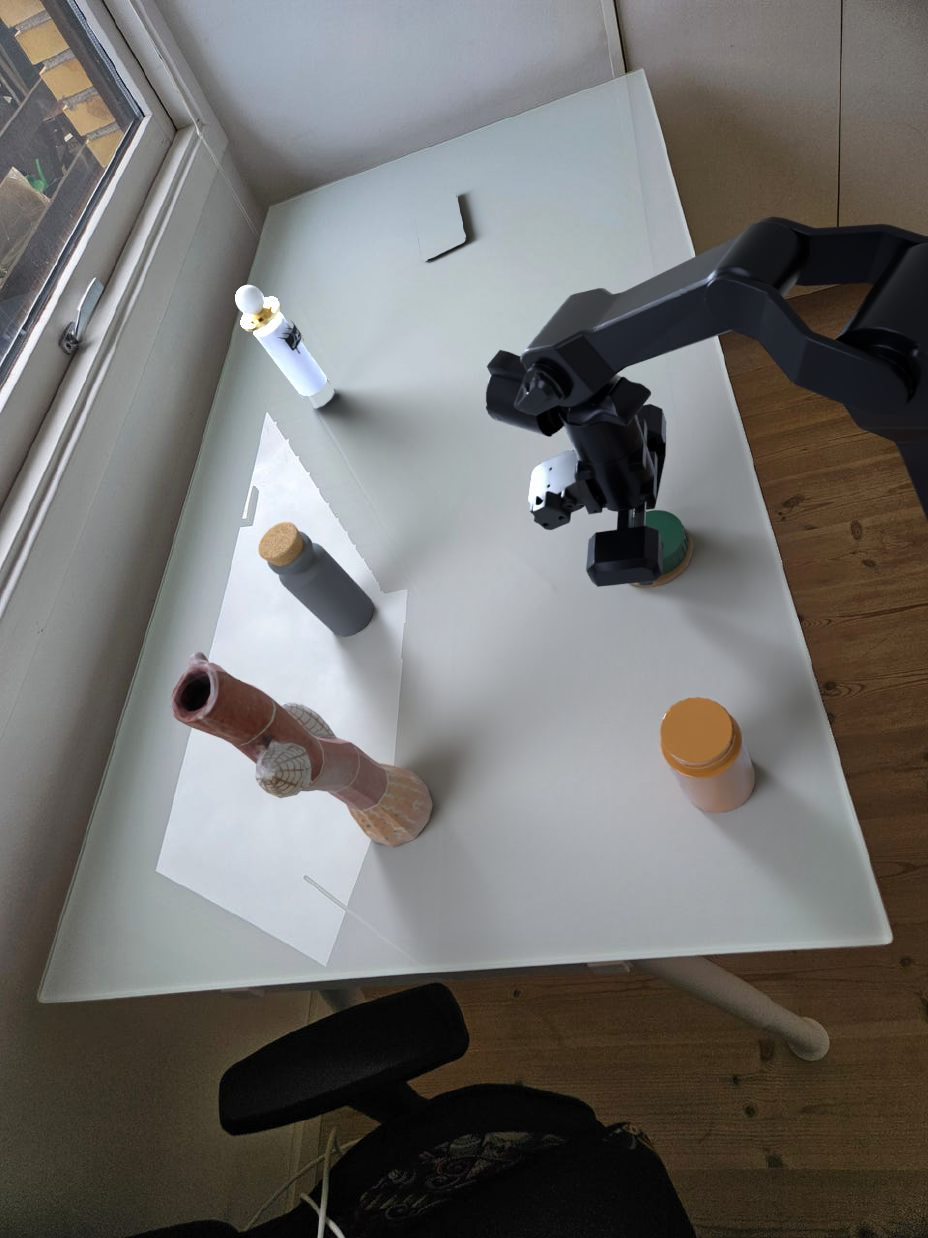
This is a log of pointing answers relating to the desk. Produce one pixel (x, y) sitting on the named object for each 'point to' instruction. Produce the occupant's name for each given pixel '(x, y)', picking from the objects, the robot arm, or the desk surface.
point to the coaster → (677, 571)
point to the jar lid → (669, 537)
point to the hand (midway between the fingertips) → (648, 544)
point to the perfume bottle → (279, 340)
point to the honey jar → (707, 754)
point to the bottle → (316, 579)
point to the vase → (301, 752)
